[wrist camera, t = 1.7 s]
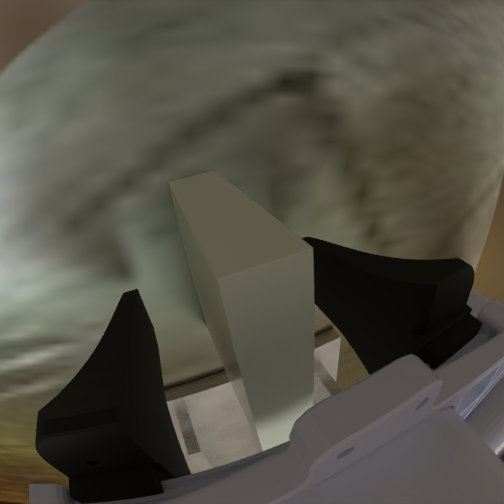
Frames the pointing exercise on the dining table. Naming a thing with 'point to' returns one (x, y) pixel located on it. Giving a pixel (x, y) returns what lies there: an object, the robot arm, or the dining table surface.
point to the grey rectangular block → (252, 299)
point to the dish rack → (234, 411)
